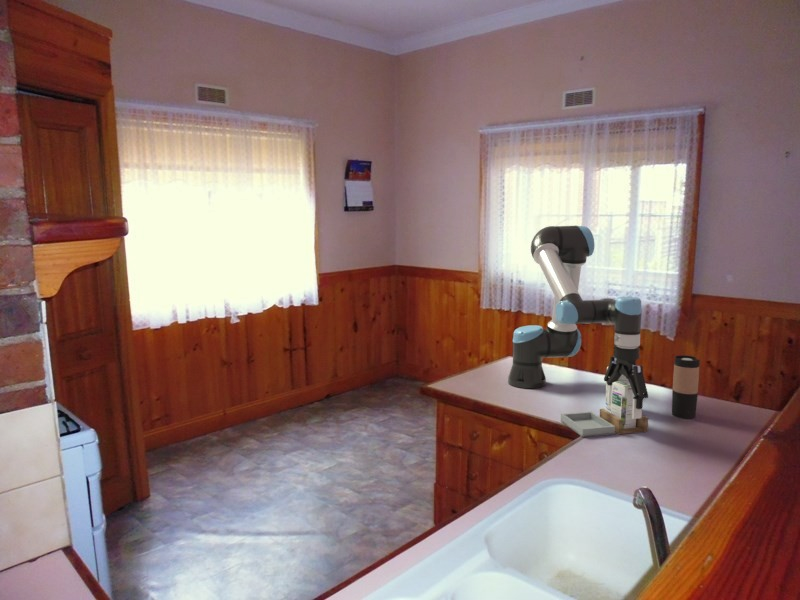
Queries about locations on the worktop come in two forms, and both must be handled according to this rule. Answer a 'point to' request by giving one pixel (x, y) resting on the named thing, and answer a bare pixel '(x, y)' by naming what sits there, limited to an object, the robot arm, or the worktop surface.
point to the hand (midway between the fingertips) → (623, 411)
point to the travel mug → (685, 386)
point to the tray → (587, 424)
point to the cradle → (618, 423)
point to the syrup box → (623, 403)
